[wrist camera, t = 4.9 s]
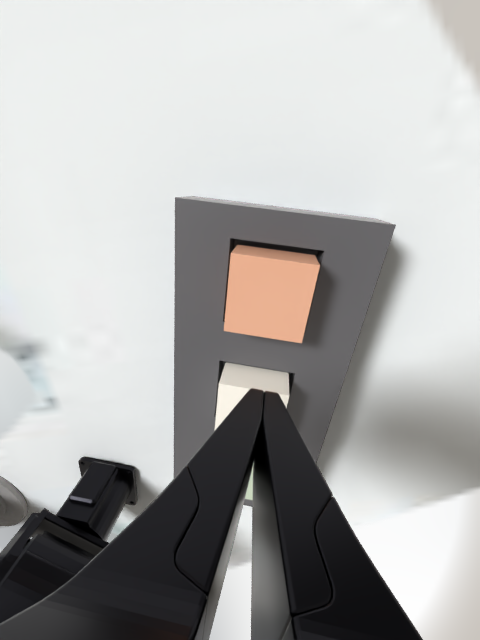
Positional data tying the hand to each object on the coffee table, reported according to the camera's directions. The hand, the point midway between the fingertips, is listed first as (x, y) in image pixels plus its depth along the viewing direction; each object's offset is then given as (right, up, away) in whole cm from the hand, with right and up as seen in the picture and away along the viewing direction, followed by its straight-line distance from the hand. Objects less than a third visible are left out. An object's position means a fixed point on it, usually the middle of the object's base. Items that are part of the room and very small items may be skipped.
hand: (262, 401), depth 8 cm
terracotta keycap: (+1, +5, +9) cm, 10 cm away
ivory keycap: (0, -3, +13) cm, 13 cm away
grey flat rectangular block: (+1, -2, +16) cm, 16 cm away
